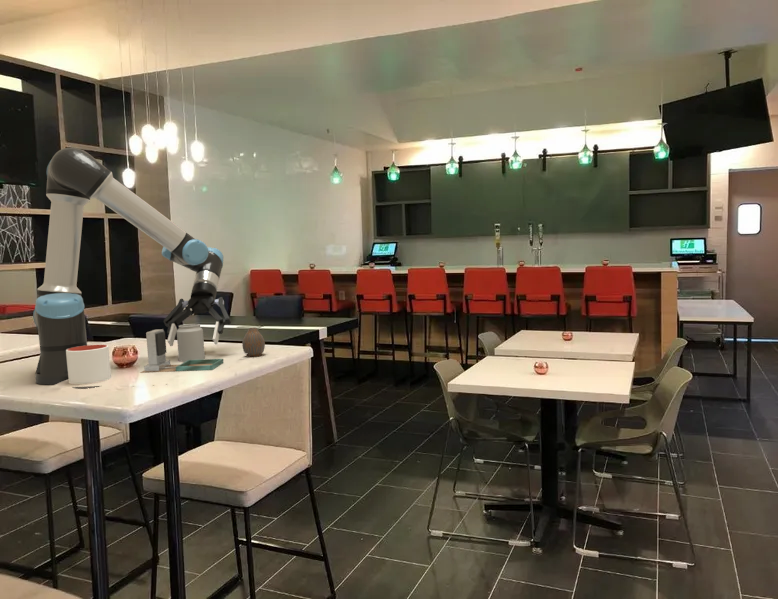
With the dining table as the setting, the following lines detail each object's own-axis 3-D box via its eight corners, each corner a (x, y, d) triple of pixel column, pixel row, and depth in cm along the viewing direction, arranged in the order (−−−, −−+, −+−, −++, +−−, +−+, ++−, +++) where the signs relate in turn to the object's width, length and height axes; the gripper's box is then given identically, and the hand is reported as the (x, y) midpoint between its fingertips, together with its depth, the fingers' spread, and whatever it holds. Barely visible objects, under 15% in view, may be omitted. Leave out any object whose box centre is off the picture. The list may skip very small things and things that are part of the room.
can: (174, 365, 187) (171, 325, 186) (196, 361, 193) (193, 322, 192) (188, 367, 182) (184, 326, 181) (210, 363, 188) (207, 323, 187)
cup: (81, 391, 157) (77, 352, 156) (62, 387, 163) (58, 349, 162) (119, 383, 165) (115, 345, 164) (99, 379, 171) (96, 343, 170)
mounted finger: (144, 371, 171) (141, 333, 170) (156, 366, 179) (153, 329, 178) (159, 371, 171) (156, 332, 170) (170, 365, 179) (167, 328, 178)
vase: (258, 357, 194) (257, 329, 193) (239, 357, 196) (237, 329, 195) (269, 353, 200) (267, 326, 200) (249, 353, 202) (248, 326, 202)
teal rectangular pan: (140, 378, 170) (139, 368, 170) (155, 370, 180) (154, 361, 180) (212, 375, 169) (211, 365, 169) (223, 367, 179) (223, 358, 179)
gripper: (246, 294, 203) (236, 348, 190) (170, 297, 204) (155, 351, 190) (240, 279, 197) (230, 333, 184) (162, 282, 198) (146, 336, 185)
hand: (192, 342), depth 187 cm, fingers open, 13 cm apart
